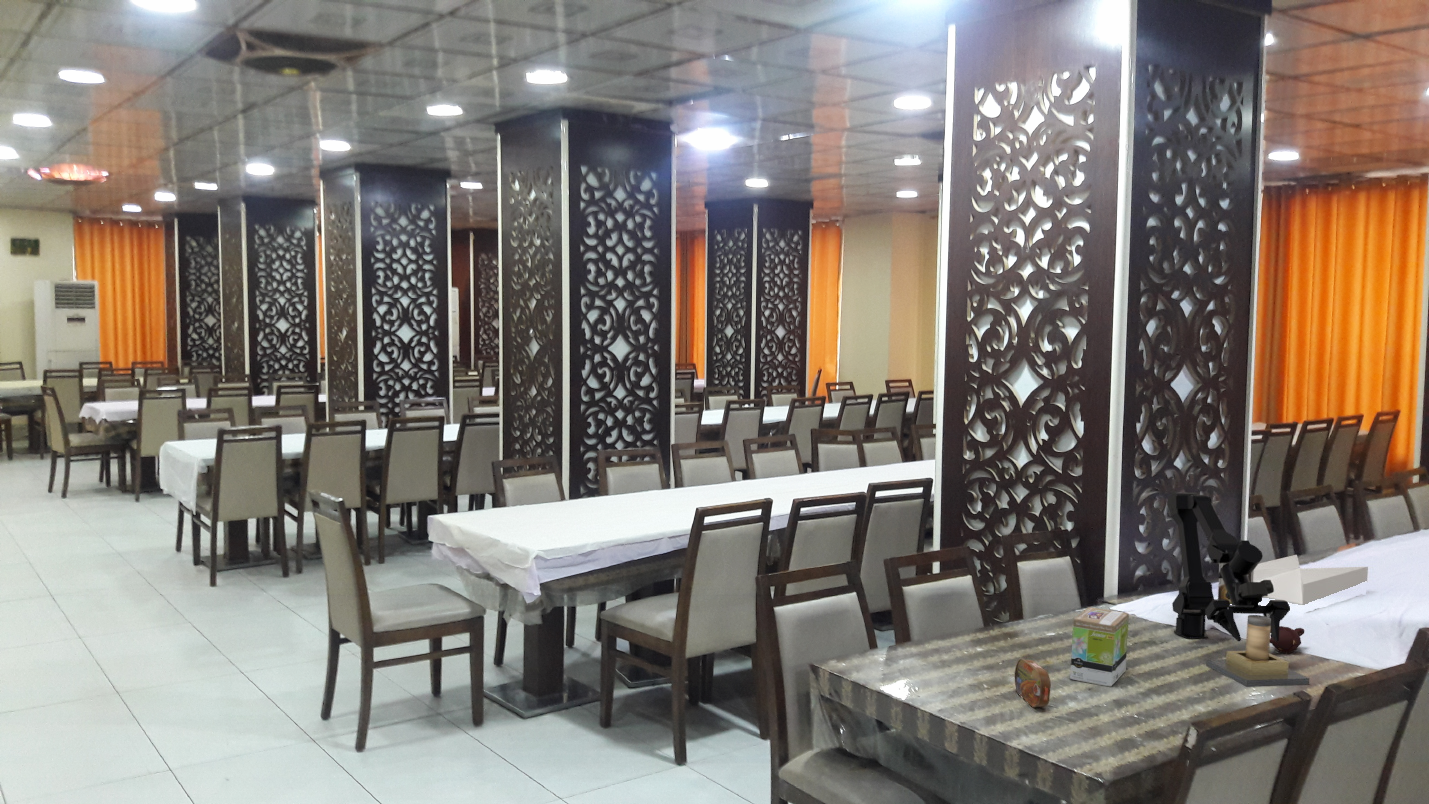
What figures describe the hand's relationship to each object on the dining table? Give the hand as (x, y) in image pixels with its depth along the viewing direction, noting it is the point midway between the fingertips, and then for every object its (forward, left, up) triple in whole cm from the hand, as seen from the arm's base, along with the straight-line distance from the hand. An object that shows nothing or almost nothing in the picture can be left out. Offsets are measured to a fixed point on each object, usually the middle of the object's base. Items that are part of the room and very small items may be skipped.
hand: (1258, 640), depth 261 cm
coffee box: (-35, -61, -9) cm, 71 cm away
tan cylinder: (0, 0, -7) cm, 7 cm away
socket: (0, 0, -8) cm, 8 cm away
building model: (-66, -74, -9) cm, 100 cm away
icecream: (-20, -18, -9) cm, 28 cm away
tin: (+63, +13, -9) cm, 65 cm away
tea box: (+39, -3, -9) cm, 40 cm away
